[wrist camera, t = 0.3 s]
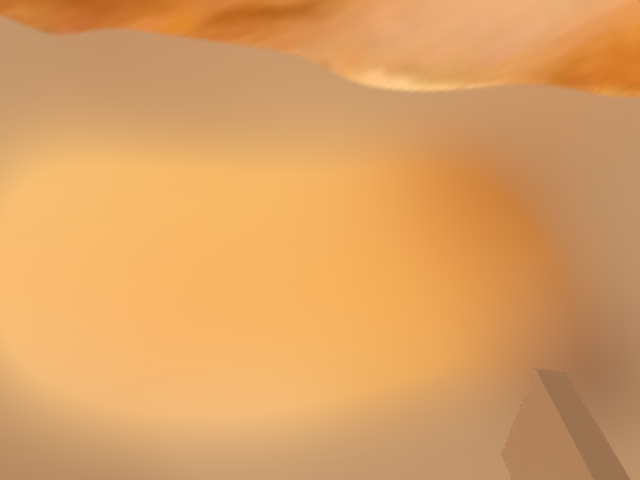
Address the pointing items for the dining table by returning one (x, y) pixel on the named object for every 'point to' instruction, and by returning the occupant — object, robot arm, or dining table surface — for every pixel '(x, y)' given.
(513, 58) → the dining table surface
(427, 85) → the dining table surface
